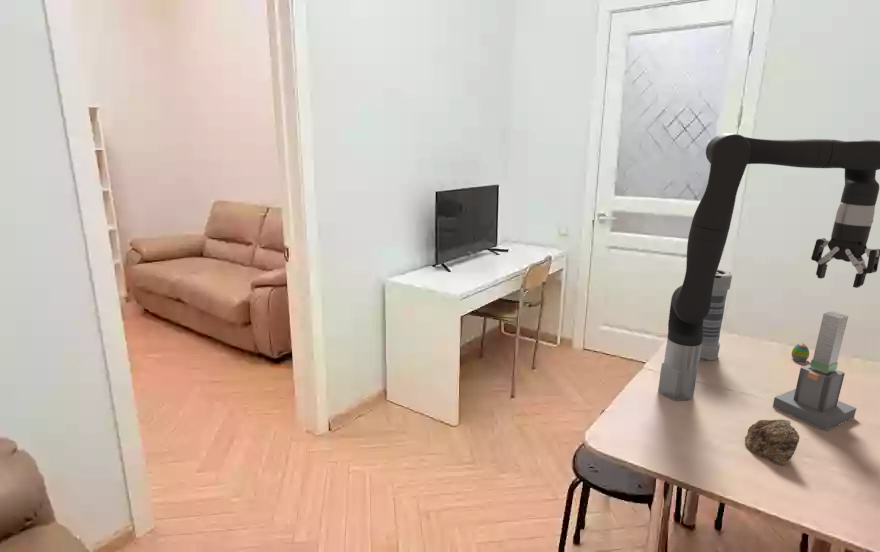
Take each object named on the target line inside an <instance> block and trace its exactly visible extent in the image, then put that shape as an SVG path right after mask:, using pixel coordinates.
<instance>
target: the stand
mask: <svg viewBox="0 0 880 552" xmlns="http://www.w3.org/2000/svg"><path fill="white" fill-rule="evenodd" d="M810 364H811V363H810ZM810 364H807V365H804V366H801V367H800V370H799V374H798V377H797V382H796V387H795V388H794V389H792V390H789V391H786V392H784V393H781V394H779V395H776V396H775V397H774V399H773V402H772V403H773V404H772V407H773V408H775V409H778V410H780V411H782V412H783V413H785V414H788V415H790V416H791V417H795V418H796V419H799V421H802V422H805V423H806V424H809V425H811V426H814V427H815V428H817V429H820V430H822V431H824V432H827V431H829V430H831V428H832V429H833V427H834V428H835V426H836V427H837V425H838V426H840V425H842V424H844V423H846V422H848V421H850V420H852V418H853V419H855V415H856V411H857V408H856V406H855V407H854V406H852V405H849V404H847V403H845V402H843V401H840V400H839V398H840V394H841V390H842V387H843V382H844V379H845V374H846V373H845V372H843V371H841V370H839V369H836V370H835V372H834V374H831V375H829V376H826V375H823V374H821V373H818V372H816V371H813V370H811V366H810ZM845 421H846V422H845ZM843 422H844V423H843ZM841 423H842V424H841ZM839 424H840V425H839Z"/></svg>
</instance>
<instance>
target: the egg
mask: <svg viewBox="0 0 880 552" xmlns="http://www.w3.org/2000/svg"><path fill="white" fill-rule="evenodd" d="M809 356H810V349H809V348H808V346H807V344H805V343H803V342H800V343H798V344H795V346H794V347H793V348H792V351H791V357H792V359H793V360H794V361H796V362H801V363H803V362H806V361H807V360H808V359H809Z"/></svg>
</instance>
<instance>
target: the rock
mask: <svg viewBox="0 0 880 552" xmlns="http://www.w3.org/2000/svg"><path fill="white" fill-rule="evenodd" d="M799 441H800V435H799V433H798V432H797V430H796V429H795V427H793V426H792V425H791V421H790V420H786V419H771V420H770V419H760V420H757V421H756V422H755V423H753V424H751V426H749V428H748V430H747V434H746V436H745V437H744V442H745V445H746V448H747V449H748V450H749V451H750V452H751V453H753V454H754V455H756V456H758V457H760V458H763V459H766V460H769V461H770V462H774V463H775V464H778V465H780V466H784V465H785V464H786V463H787V462H789V461H790V459H792V458H793V456H794V454H795V452H796V450H797V446H798V443H799Z"/></svg>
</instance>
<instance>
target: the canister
mask: <svg viewBox="0 0 880 552" xmlns="http://www.w3.org/2000/svg"><path fill="white" fill-rule="evenodd" d="M732 278H733V275H732V274H731V272H730V271H728V270H725V269H722V268H718V269H717V272H716V275H715V279H714V284H713V290H712V297H711V306H710V311H709V313H708V315H707V316H706V317H705V318H704V320H703V341H702V347H701V353H700V359H699V360H703V361H715V360H717V359H718V357H719V352H720V348H721V347H720V346H721V343H720V335H721V328H722V324H723V319H724V315H725V314H724V313H725V307H726V300H727V295H728V291H729V290H730V289H731V283H732Z"/></svg>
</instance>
